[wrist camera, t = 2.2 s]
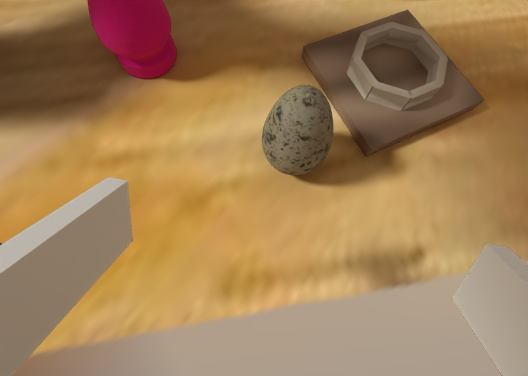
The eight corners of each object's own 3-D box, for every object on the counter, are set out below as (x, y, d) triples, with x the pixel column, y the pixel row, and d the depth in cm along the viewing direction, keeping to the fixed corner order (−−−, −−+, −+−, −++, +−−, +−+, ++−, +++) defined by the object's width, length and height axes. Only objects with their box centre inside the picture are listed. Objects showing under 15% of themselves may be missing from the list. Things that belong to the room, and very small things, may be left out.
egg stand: (301, 56, 32) (306, 30, 29) (401, 20, 34) (416, -8, 31) (365, 156, 28) (380, 139, 25) (473, 108, 30) (500, 86, 27)
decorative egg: (330, 149, 28) (367, 81, 19) (303, 196, 27) (328, 148, 17) (279, 122, 29) (290, 45, 20) (250, 167, 27) (246, 105, 18)
